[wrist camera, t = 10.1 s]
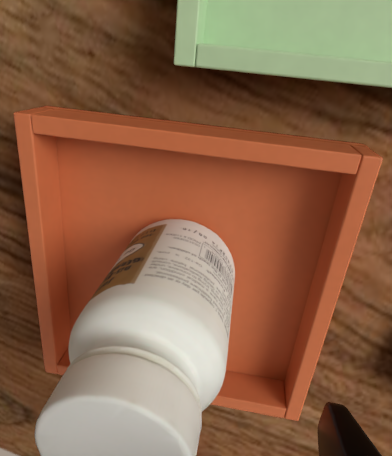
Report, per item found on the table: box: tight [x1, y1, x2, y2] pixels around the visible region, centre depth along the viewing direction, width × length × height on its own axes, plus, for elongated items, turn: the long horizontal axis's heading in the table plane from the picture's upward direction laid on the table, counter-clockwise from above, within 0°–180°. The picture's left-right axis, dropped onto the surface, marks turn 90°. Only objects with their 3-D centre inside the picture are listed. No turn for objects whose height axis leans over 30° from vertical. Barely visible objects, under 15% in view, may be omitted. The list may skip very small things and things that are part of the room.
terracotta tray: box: [14, 106, 383, 421], centre depth 14 cm, size 11×11×2 cm
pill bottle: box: [35, 219, 235, 456], centre depth 11 cm, size 4×4×8 cm
